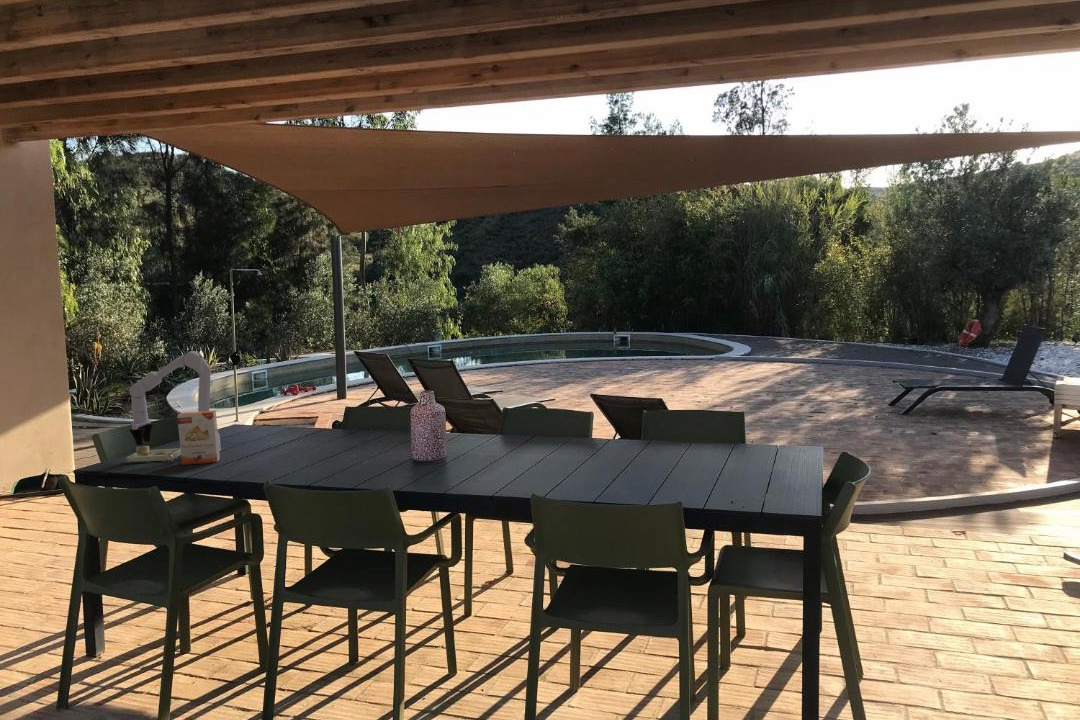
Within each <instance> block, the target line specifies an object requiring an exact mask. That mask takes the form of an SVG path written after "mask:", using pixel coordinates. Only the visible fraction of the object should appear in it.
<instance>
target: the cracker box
mask: <svg viewBox="0 0 1080 720" xmlns="http://www.w3.org/2000/svg"><path fill="white" fill-rule="evenodd" d="M177 427H178V428H177V429H178V439H179V448H180V449H181V456H180V459H181V465H182V466H186V465H188V464H189V465H199V464H201V465H202V464H212V463H213V464H214V463H218V462H219V461H220V460H221V456H220V455H221V453H220V452H221V451H219V441H218V432H219V431H218V422H217V412H216V410H209V411H201V412H198V411H188V412H180V413H179V414H177Z"/></svg>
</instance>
